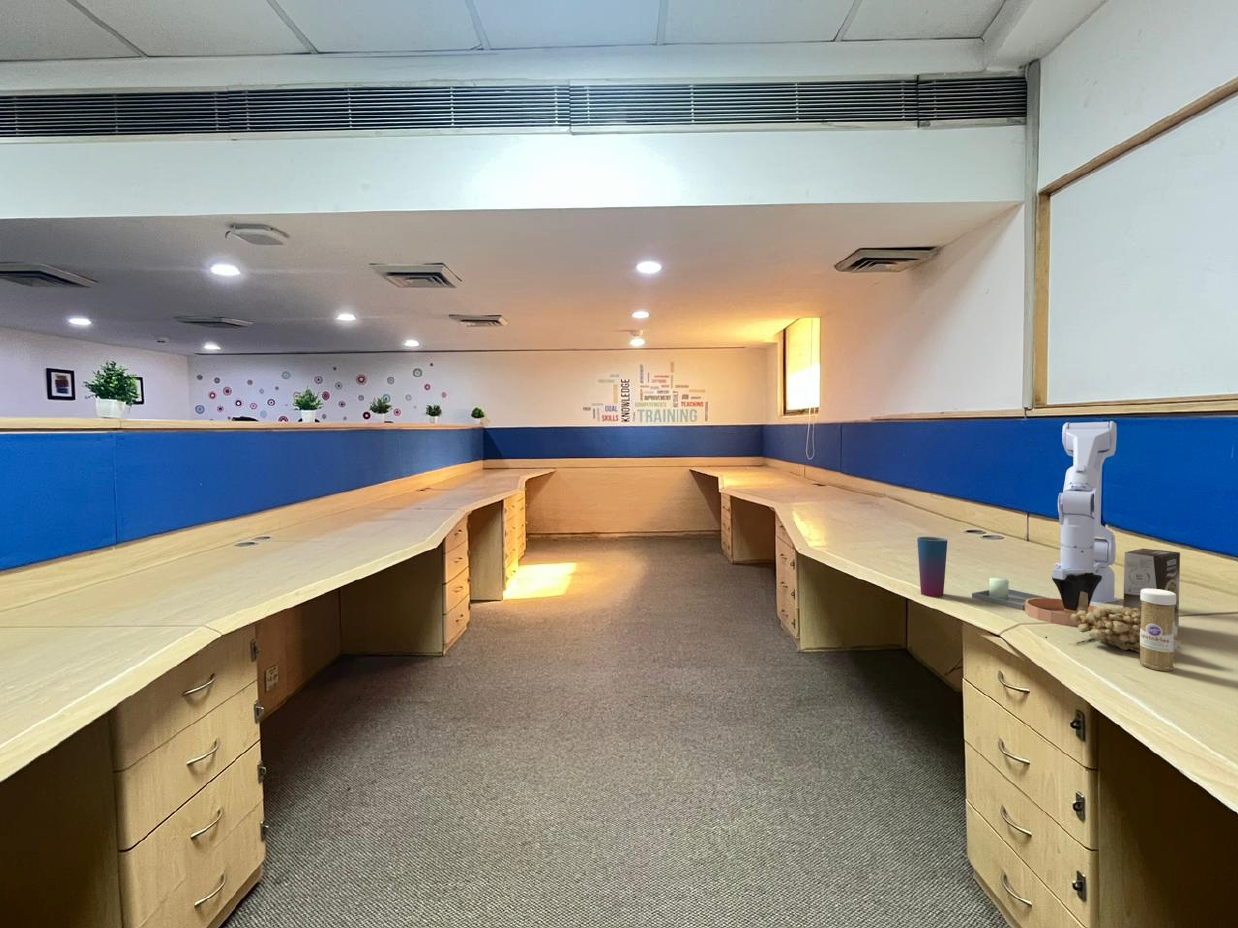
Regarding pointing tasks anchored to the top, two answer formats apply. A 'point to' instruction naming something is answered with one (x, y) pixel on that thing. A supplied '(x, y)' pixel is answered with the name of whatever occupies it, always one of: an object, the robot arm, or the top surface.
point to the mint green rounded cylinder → (998, 588)
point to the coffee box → (1150, 575)
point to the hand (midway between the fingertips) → (1076, 608)
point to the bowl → (1050, 611)
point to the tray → (1013, 601)
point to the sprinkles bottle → (1157, 629)
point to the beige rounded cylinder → (1080, 604)
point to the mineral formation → (1115, 626)
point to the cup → (932, 565)
